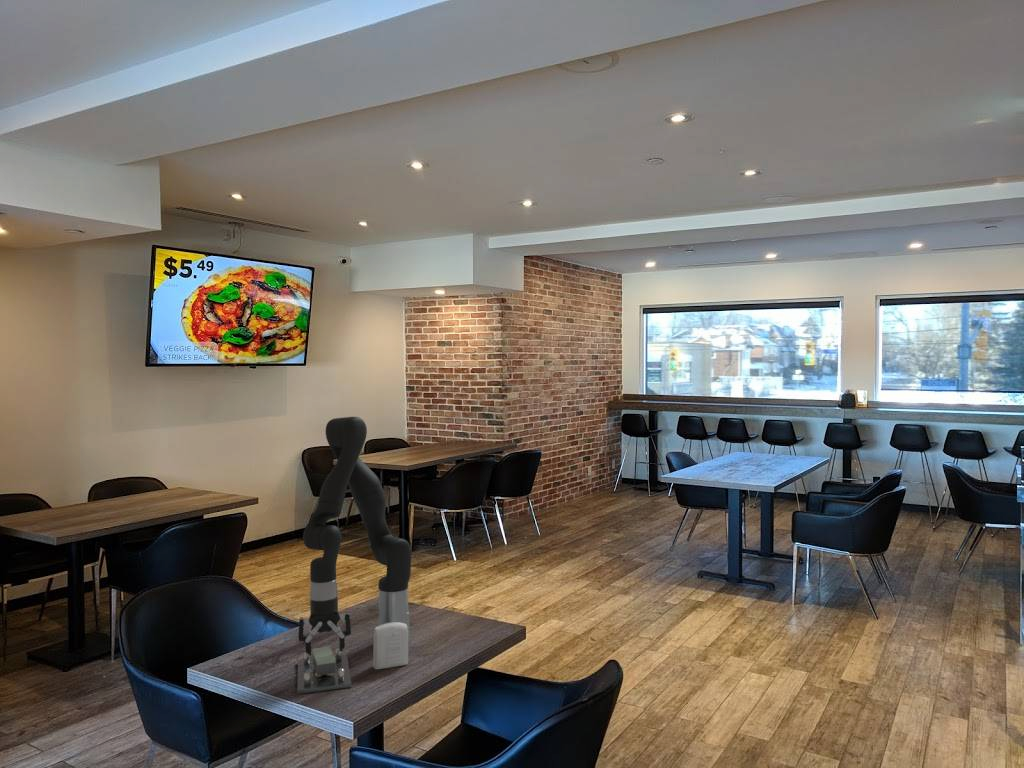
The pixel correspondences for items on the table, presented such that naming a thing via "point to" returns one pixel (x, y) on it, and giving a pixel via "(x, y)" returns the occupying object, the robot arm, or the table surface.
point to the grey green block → (323, 660)
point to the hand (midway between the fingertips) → (325, 652)
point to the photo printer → (390, 645)
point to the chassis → (315, 683)
